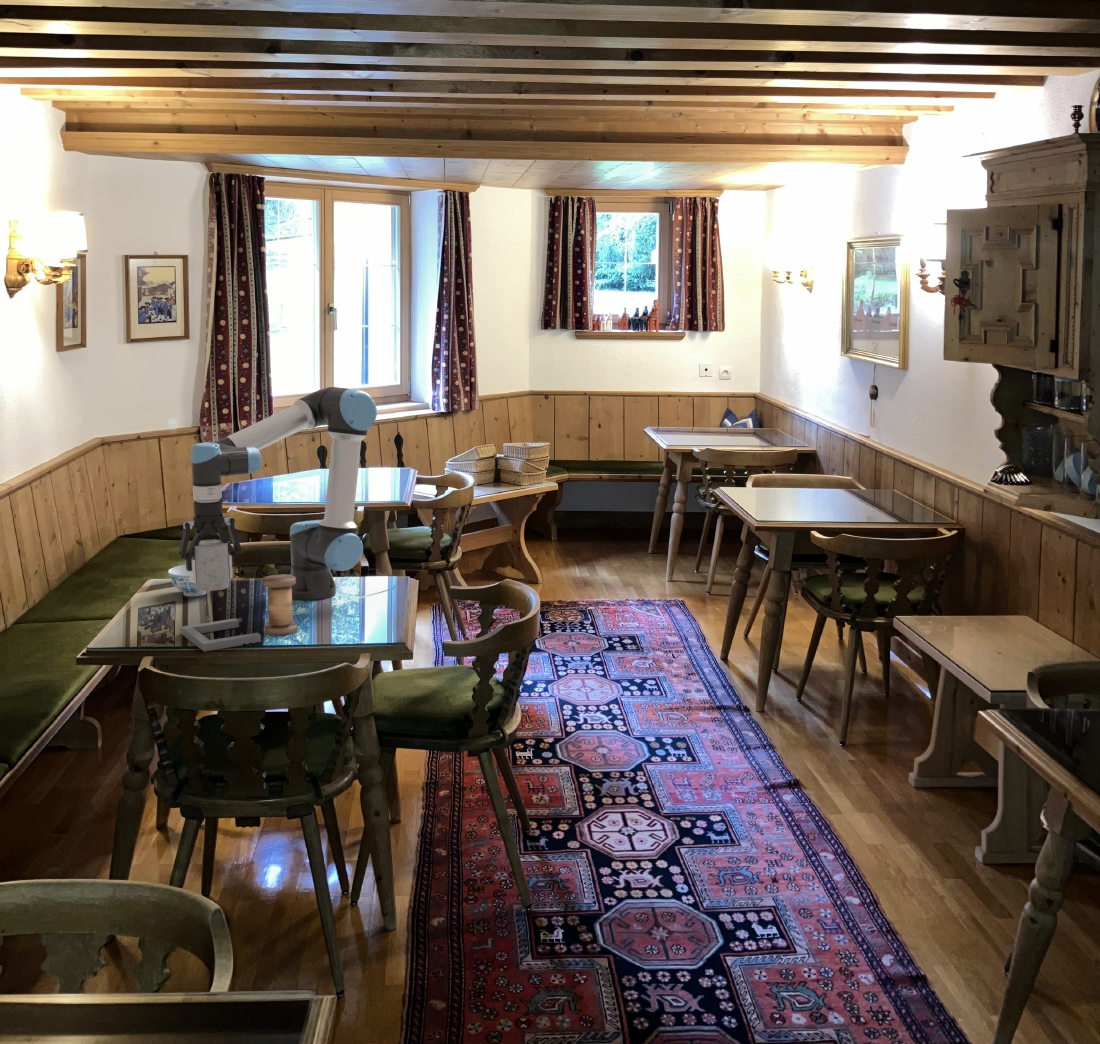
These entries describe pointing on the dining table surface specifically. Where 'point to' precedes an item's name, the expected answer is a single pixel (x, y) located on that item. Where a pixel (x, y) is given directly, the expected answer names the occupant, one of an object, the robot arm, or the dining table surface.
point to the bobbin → (279, 604)
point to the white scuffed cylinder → (211, 565)
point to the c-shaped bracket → (207, 645)
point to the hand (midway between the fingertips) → (211, 579)
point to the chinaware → (183, 581)
